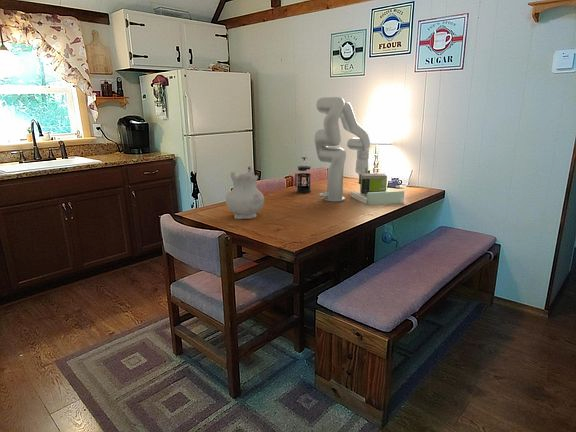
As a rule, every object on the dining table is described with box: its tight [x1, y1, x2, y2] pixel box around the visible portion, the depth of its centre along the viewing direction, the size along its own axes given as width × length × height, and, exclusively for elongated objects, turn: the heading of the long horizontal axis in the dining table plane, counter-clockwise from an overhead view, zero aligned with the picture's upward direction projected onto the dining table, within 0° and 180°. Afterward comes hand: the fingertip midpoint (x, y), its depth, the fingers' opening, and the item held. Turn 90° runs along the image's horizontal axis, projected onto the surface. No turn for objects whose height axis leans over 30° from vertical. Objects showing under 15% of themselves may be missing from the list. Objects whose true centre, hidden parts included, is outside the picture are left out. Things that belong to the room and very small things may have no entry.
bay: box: [350, 190, 405, 206], centre depth 234 cm, size 23×24×7 cm
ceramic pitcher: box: [225, 166, 265, 220], centre depth 196 cm, size 22×20×25 cm
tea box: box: [359, 172, 388, 197], centre depth 237 cm, size 15×10×15 cm, turn 84°
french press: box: [294, 156, 312, 194], centre depth 252 cm, size 12×9×23 cm
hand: (361, 184), depth 254 cm, fingers closed
